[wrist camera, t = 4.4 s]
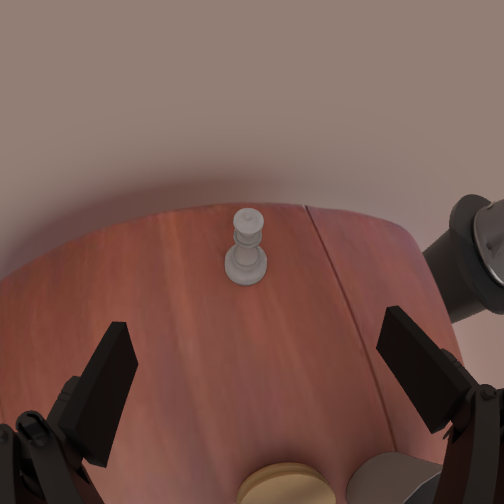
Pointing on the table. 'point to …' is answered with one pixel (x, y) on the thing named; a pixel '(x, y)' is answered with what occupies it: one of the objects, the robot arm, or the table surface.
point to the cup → (394, 480)
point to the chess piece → (246, 249)
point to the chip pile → (286, 486)
